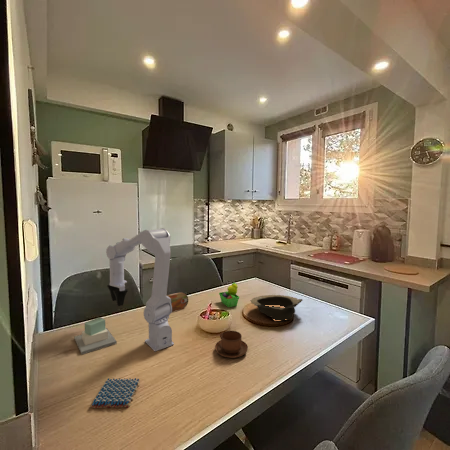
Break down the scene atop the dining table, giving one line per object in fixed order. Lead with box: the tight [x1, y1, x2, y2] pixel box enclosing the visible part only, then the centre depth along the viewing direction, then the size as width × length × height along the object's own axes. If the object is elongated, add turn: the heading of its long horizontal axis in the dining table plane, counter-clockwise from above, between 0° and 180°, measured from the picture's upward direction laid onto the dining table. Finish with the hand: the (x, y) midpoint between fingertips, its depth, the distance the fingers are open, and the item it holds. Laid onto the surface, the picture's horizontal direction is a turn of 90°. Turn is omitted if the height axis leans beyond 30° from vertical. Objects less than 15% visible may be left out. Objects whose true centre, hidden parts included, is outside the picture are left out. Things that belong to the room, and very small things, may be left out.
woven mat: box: [90, 377, 141, 409], centre depth 73 cm, size 10×11×2 cm
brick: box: [84, 317, 107, 336], centre depth 101 cm, size 4×6×4 cm, turn 149°
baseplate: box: [73, 327, 117, 356], centre depth 101 cm, size 14×12×4 cm
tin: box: [167, 291, 189, 313], centre depth 133 cm, size 15×3×8 cm, turn 125°
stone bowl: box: [250, 294, 303, 320], centre depth 129 cm, size 25×25×9 cm
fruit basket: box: [218, 282, 240, 308], centre depth 141 cm, size 11×9×11 cm
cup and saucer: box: [214, 330, 249, 359], centre depth 95 cm, size 12×12×6 cm
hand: (117, 302), depth 114 cm, fingers open, 7 cm apart
